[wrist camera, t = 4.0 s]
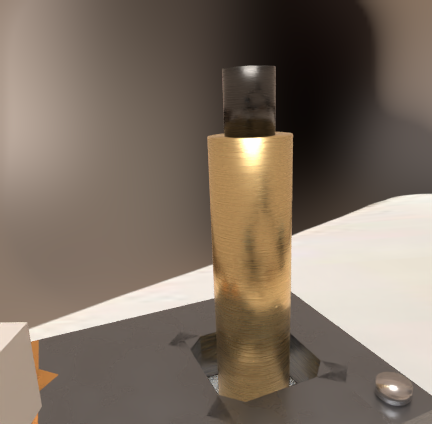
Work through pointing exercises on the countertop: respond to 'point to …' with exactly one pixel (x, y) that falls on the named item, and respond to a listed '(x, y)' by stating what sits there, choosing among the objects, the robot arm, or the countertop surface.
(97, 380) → the housing
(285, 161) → the tall gold bottle
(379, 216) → the countertop surface
